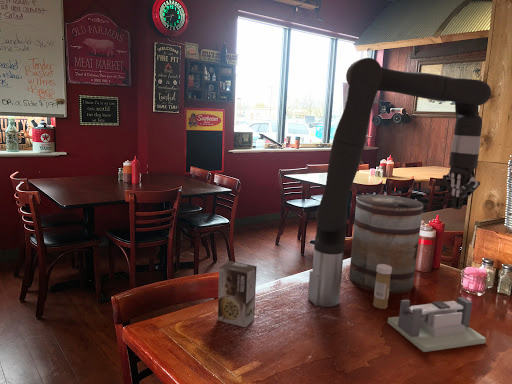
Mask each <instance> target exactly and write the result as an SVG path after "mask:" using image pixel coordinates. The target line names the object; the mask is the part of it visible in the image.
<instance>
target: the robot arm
mask: <svg viewBox="0 0 512 384" xmlns="http://www.w3.org/2000/svg"><path fill="white" fill-rule="evenodd" d="M345 79H346V82H347V84H348V91H347V97H346V103H345V106H344V110H343V112H342V115H341V116H340V119H339V121H338V124H337V126H336V129H335V131H334V136H333V140H332V143H331V147H330V153H329V158H328V164H327V165H328V166H327V170H326V171H327V173H326V179H325V181H326V182H325V186H324V189H323V194H322V197H321V198H320V199H321V200H320V203H319V205H318V208H317V209H316V212H315V213H316V214H315V220H316V230H315V238H314V243H313V244H314V247H313V256H312V257H313V258H312V259H313V260H312V270H311V269H310V270H309V276H308V277H309V279H308V290H307V291H308V292H307V299H308V300H309V301H310V302H311V303H312V304H313V306H315V307H318V306H320V307H326V308H330V307H331V308H332V307H335V306H338V305H339V303H340V298H341V287H342V286H341V285H342V276H343V265H344V263H343V262H344V252H345V245H346V236H347V235H346V234H347V223H348V204H349V197H350V192H351V188H352V185H353V183H354V180H355V177H356V175H357V172H358V170H359V167H360V164H361V160H362V156H363V153H364V148H365V144H366V139H367V134H368V130H369V123H370V117H371V112H372V108H373V104H374V102H375V99H376V96H377V93H378V91H379V92H389V93H397V94H401V95H407V96H410V97H411V96H412V97H414V98H415V97H416V98H421V99H426V100H430V101H431V100H432V101H437V102H453V103H454V110H455V113H454V114H455V124H454V131H453V137H452V140H451V148H450V153H449V160H448V161H449V162H448V166H449V167H450V169H449V170H448V173H447V174H443V175H442V179H443V182H444V184H445V187H446V190H447V192H448V193H450V194H451V195H452V199H451V200H452V201H451V208H452V209H454V210H461V209H462V208H463V204H464V198H465V197H470V196H471V195H472V194H473V193H475V191H476V190H477V189H478V188H479V186H480V185H481V182H480V181H479V180H478V181H477V180H476V178H475V174H476V173H475V169H477V167H478V162H479V155H480V149H481V148H480V147H481V135H482V129H483V118H482V117H481V116H480V114H479V107H480V106H482V105H484V104H486V103H487V102H488V101H489V100H490V98H491V97H492V88H491V86H490V85H489V84H488V83H487V82H485V81H484V80H479V79H472V78H463V77H462V78H460V77H459V78H457V77H451V76H447V75H442V74H436V73H427V72H421V71H420V72H419V71H405V70H403V71H402V70H395V69H390V68H386V67H383V66H382V65H381V64H380V62H379V61H378V60H377V59H375V58H373V57H363V58H359V59H358V60H356V61H353V62H352V64H350V66H349V67H348V69H347V71H346V75H345Z"/></svg>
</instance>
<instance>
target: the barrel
mask: <svg viewBox="0 0 512 384" xmlns="http://www.w3.org/2000/svg"><path fill="white" fill-rule="evenodd" d="M355 202H356V203H355V213H354V214H355V215H354V221H353V233H352V234H353V235H352V244H351V255H350V265H349V273H348V274H349V275H348V277H349V281H350V282H351V283H352V284H354V285H355V287H358V288H361V289H363V290H366V291H369V292H371V291H372V293H374V291H375V282H376V274H377V271H376V269H377V265H378V264H386V265H389V266H391V267H392V272H391V276H390V285H389V295H402V294H406V293H409V292H411V291H412V290H413V288H414V283H415V282H414V281H415V275H416V273H415V272H416V265H417V257H418V250H419V249H418V248H419V244H420V242H419V241H420V234H421V228H422V227H421V226H422V218H423V211H424V203H422V202H421V201H419V200H416V199H412V198H408V197H405V196H397V195H391V194H390V195H388V194H362V195H359V196H357V197H356V201H355Z"/></svg>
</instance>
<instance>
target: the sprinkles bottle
mask: <svg viewBox="0 0 512 384" xmlns="http://www.w3.org/2000/svg"><path fill="white" fill-rule="evenodd" d="M376 271H377V274H376V282H375V291H374V292H373V293H374V294H373V302H372V305H373V307H374V308H376V309H379V310H380V309H381V310H383V309H384V310H385V309H387V308H388V306H389V305H388V301H389V296H390V294H389V285H390V276H391V272H392V267H391V266H389V265H386V264H378V265H377V269H376Z"/></svg>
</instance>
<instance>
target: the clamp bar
mask: <svg viewBox="0 0 512 384" xmlns="http://www.w3.org/2000/svg"><path fill="white" fill-rule="evenodd" d="M415 308H421V309H422V314H428V313H436V312H444V311H451V310H459V309H463V306H462V305H460V304H459V303H457V301H455V300H450V301H449V300H448V301H443V300H440V301H432V303H425V304H423V303H422V304H417V305H416V304H415V305H410V306H407V310H408V311H409V313H410V314H412V312H413V309H415Z"/></svg>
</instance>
